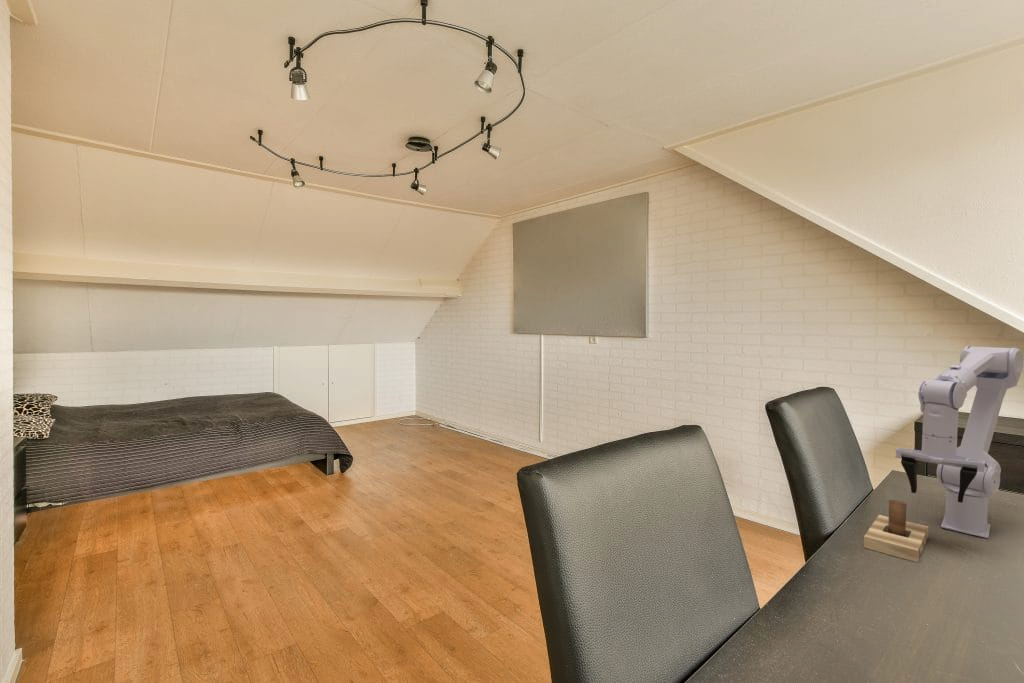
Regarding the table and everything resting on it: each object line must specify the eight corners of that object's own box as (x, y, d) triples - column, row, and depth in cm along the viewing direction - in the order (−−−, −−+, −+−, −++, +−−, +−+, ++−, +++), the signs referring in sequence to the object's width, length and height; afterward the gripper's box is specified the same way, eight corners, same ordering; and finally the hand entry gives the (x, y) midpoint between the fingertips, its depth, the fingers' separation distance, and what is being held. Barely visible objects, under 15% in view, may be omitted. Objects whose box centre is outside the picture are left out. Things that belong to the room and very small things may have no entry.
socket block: (878, 525, 116) (879, 514, 116) (927, 537, 110) (928, 526, 110) (863, 547, 105) (864, 536, 105) (917, 562, 99) (918, 550, 98)
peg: (889, 537, 110) (891, 498, 109) (906, 542, 107) (908, 502, 107) (886, 542, 108) (887, 502, 107) (903, 546, 105) (904, 506, 105)
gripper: (894, 432, 108) (891, 492, 109) (984, 444, 98) (981, 510, 98) (899, 427, 113) (897, 484, 114) (986, 438, 103) (983, 501, 103)
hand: (936, 496), depth 106 cm, fingers open, 7 cm apart
